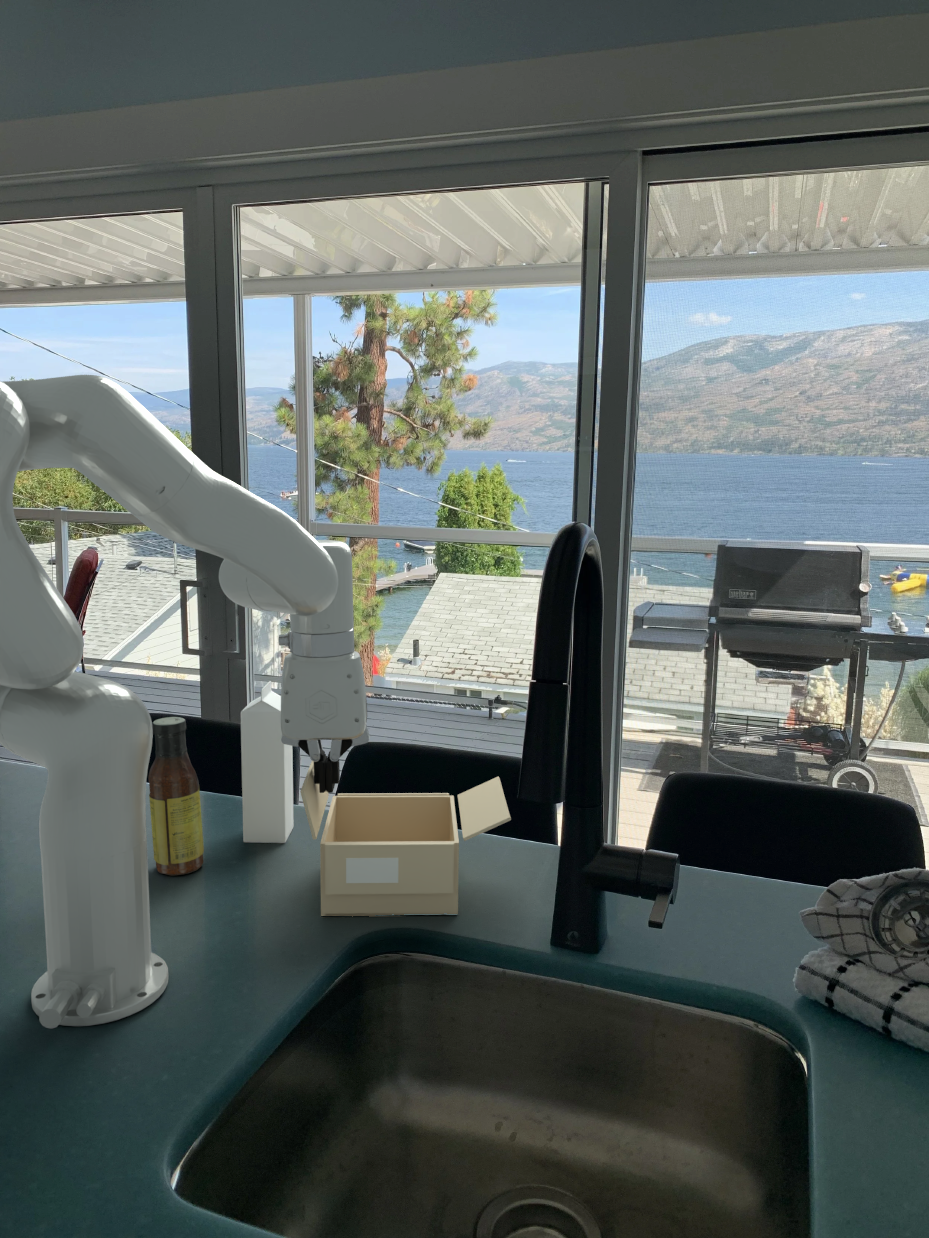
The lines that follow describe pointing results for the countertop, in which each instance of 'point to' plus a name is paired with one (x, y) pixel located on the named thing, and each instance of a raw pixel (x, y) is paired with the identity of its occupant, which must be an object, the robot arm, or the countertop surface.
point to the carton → (390, 855)
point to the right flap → (482, 808)
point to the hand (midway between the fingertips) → (327, 788)
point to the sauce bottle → (174, 801)
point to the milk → (266, 772)
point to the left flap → (313, 801)
